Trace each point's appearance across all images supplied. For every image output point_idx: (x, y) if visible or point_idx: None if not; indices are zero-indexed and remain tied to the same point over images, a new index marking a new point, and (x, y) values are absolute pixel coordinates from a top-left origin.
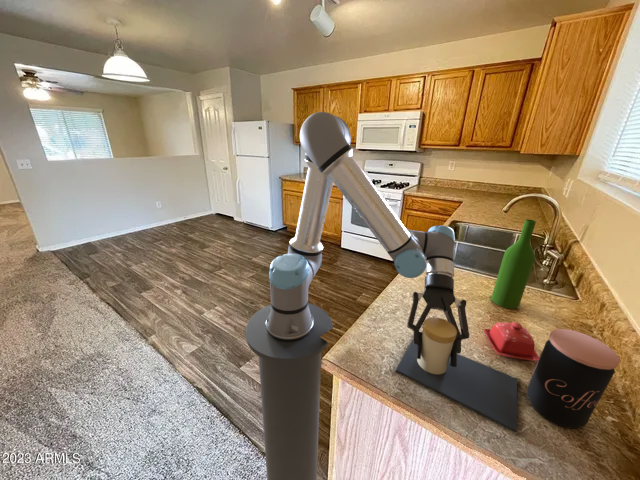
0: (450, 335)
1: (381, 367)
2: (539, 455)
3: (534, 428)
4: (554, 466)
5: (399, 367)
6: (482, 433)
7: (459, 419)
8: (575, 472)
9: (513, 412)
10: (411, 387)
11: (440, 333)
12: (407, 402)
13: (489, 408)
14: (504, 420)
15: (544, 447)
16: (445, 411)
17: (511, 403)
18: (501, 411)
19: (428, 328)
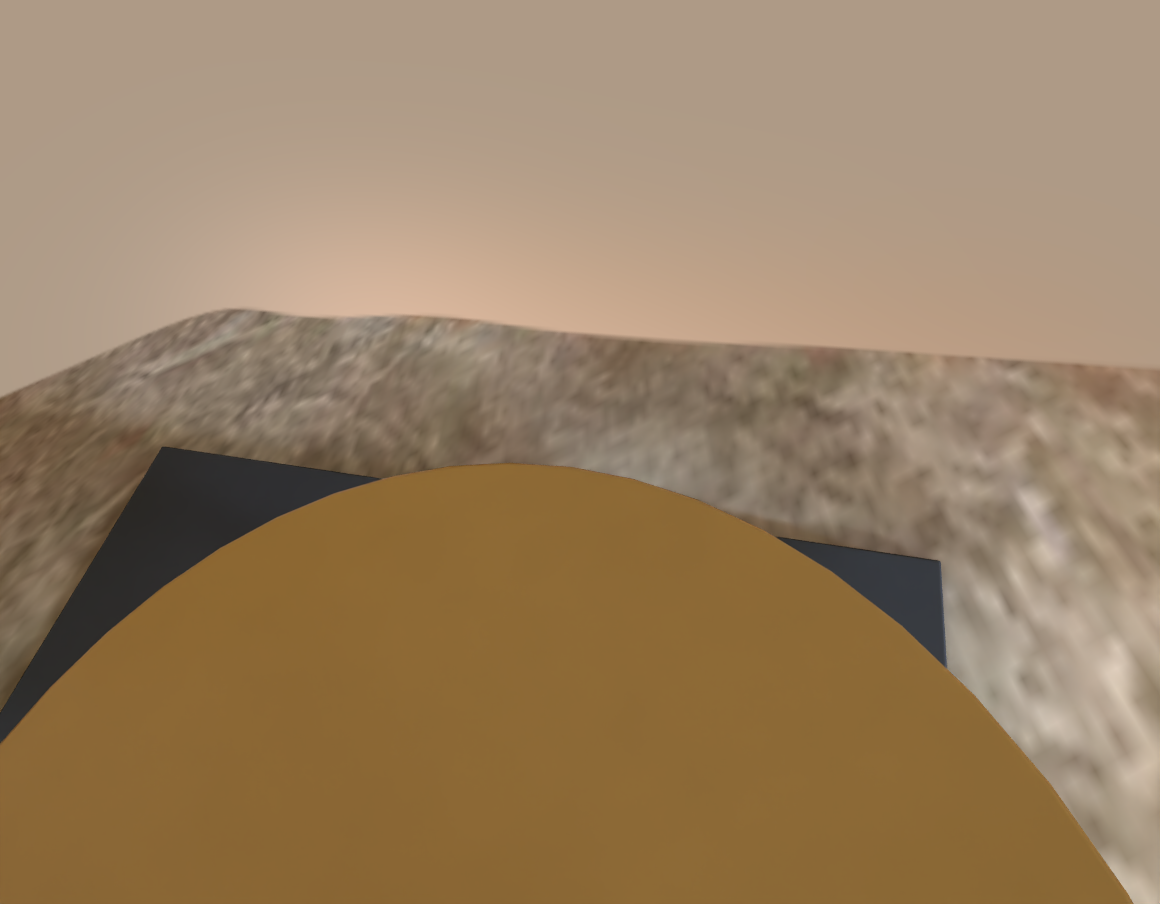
0: (149, 662)
1: (1080, 554)
2: (134, 390)
3: (57, 525)
4: (103, 372)
5: (923, 606)
6: (349, 372)
7: (449, 391)
8: (35, 387)
9: (107, 562)
10: (754, 469)
11: (438, 621)
12: (750, 350)
13: (245, 522)
14: (195, 477)
15: (83, 438)
16: (521, 401)
17: (74, 635)
18: (179, 533)
19: (877, 729)
